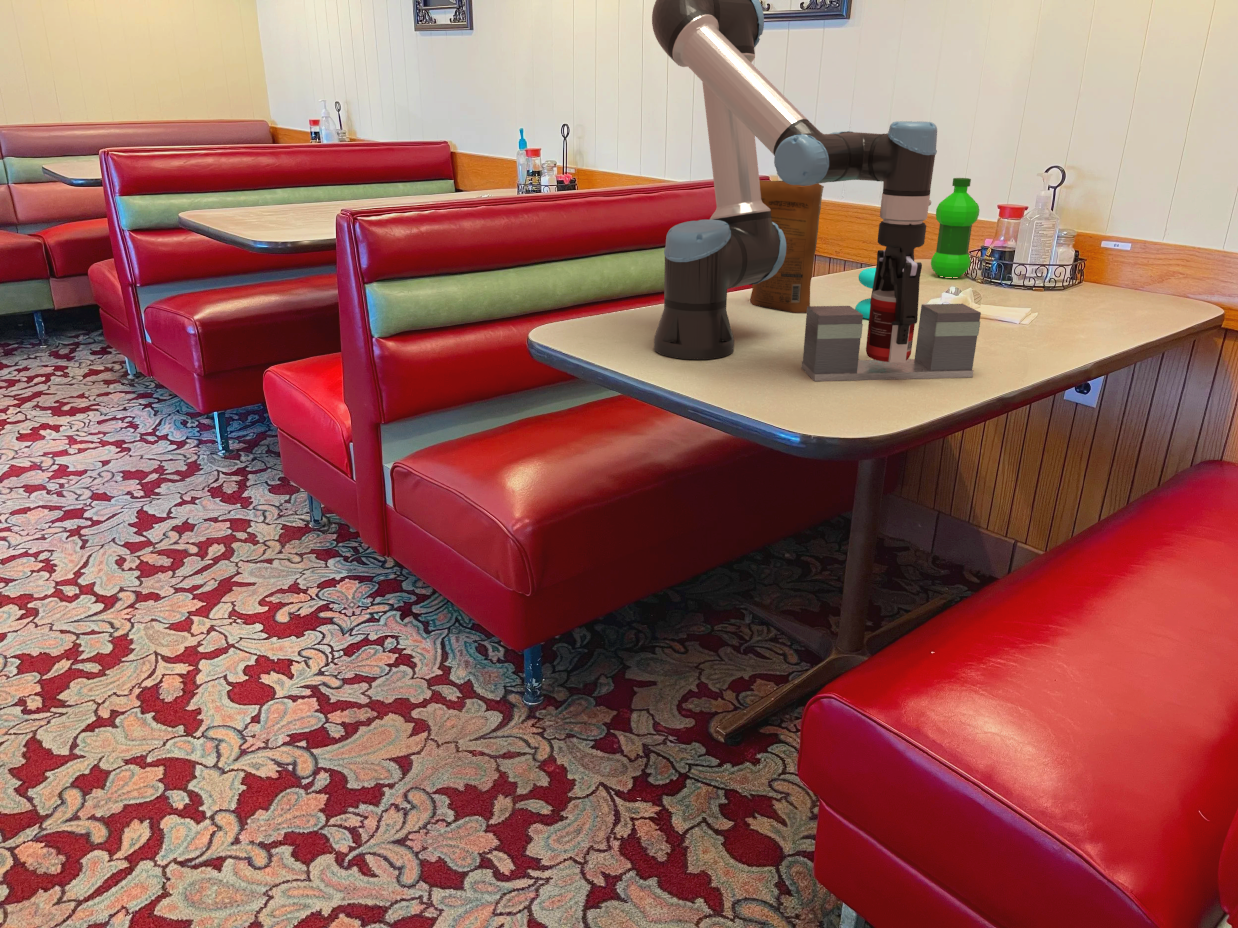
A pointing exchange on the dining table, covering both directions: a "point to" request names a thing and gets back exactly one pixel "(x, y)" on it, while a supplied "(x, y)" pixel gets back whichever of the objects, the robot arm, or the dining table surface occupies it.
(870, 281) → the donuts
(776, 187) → the pancake mix bag
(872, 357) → the canned food
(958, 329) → the grey double block stand
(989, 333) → the dining table surface
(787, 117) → the robot arm
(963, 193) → the plastic bottle
